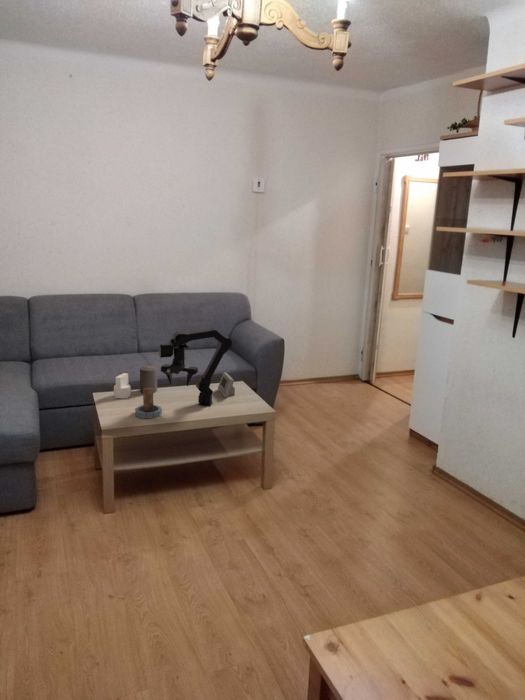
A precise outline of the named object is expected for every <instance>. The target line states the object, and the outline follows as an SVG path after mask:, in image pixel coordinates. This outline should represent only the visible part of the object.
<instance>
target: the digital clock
mask: <svg viewBox="0 0 525 700" xmlns="http://www.w3.org/2000/svg"><path fill="white" fill-rule="evenodd" d="M234 383H235V380H234V379H233V377H232V376H231V375H230V374H229V373H227V371H226V372H225V371H224V372H223V373H222V376H221V378H220V381H219V384H218V385H217V386H218V387H217V390H219V392H220V393H221V394H222V395H223V397H224V398H228V397H229V395H230V396H234V395H233V394H236V391H235V389H236V388H235V386H234Z"/></svg>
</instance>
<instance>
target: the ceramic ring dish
mask: <svg viewBox="0 0 525 700" xmlns="http://www.w3.org/2000/svg"><path fill="white" fill-rule="evenodd" d="M153 407H154V412H144V410H143V404H142V405H139V406H137V407H135V408H134V409H135V410H134V411H135V412H134V414H136V415H135V416H136V418H139V417H140V418H139V419H143V418H145V419H147V420H148V419H149V420H150V419H156V418H159V417H160V416H162V414H163V413H162V412H163V408H162V407H161V406H160V405H158V404H153Z"/></svg>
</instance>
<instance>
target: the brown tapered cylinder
mask: <svg viewBox="0 0 525 700" xmlns="http://www.w3.org/2000/svg"><path fill="white" fill-rule="evenodd" d="M142 397H143V398H142V399H143V401H142V402H143V403H142V405H143V410H144V412H154V407H153V405H154V393H153V388H144V389H143V393H142Z"/></svg>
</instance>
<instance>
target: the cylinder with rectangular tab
mask: <svg viewBox="0 0 525 700" xmlns="http://www.w3.org/2000/svg"><path fill="white" fill-rule="evenodd" d="M131 386H132V385H130V384H129V373H125V372H123V373H122V374H119V375H117V376H115V385H113V397H114V399H117V398H126V399H129V398H131V397H130V396H132V391H131V389H132V387H131ZM128 397H129V398H128Z"/></svg>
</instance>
